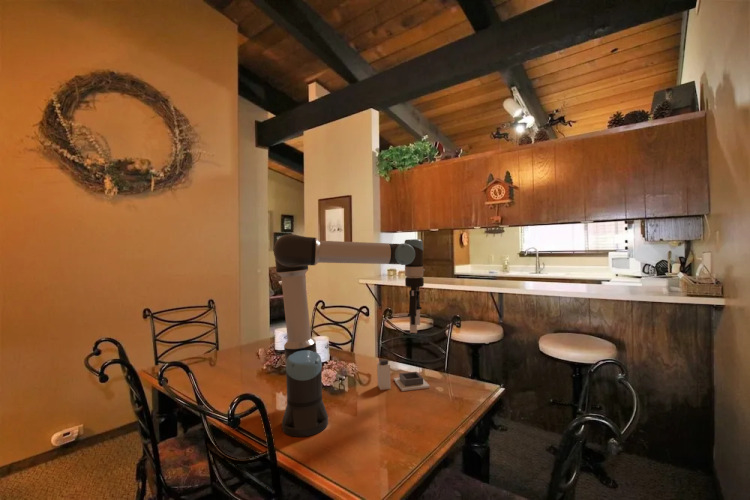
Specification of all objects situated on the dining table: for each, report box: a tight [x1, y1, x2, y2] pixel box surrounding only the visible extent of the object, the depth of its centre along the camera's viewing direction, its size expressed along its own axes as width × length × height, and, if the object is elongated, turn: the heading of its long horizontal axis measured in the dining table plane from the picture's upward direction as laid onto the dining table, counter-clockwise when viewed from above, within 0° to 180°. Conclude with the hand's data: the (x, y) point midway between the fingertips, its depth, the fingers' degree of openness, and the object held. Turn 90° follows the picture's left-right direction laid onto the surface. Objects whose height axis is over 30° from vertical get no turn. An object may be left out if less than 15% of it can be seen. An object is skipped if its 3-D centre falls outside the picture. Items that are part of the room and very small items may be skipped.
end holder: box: [393, 371, 431, 392], centre depth 145 cm, size 12×12×4 cm
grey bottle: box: [376, 358, 392, 391], centre depth 142 cm, size 4×4×12 cm
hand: (415, 328), depth 138 cm, fingers open, 13 cm apart
